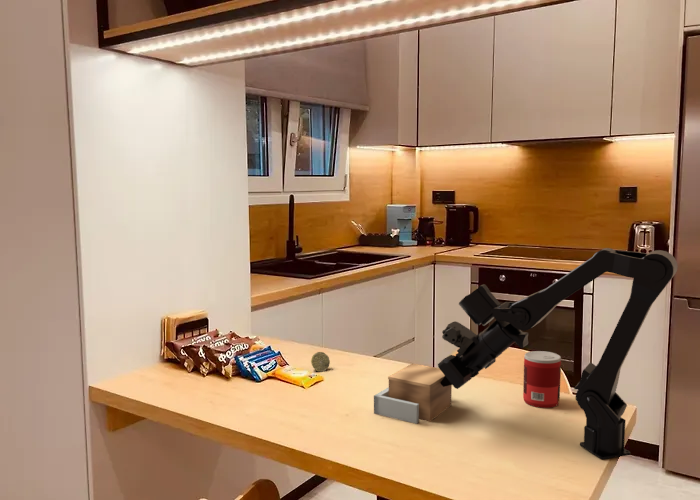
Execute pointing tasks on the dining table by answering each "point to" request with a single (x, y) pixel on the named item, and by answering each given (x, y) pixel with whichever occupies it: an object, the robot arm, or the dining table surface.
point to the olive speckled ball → (320, 361)
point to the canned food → (542, 379)
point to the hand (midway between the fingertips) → (442, 384)
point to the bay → (395, 407)
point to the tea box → (421, 389)
